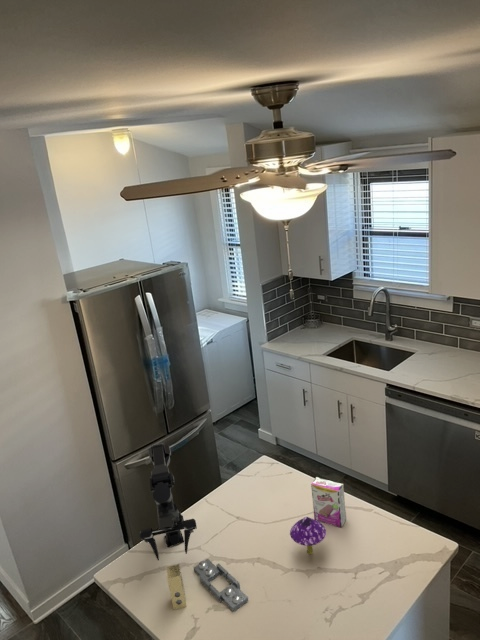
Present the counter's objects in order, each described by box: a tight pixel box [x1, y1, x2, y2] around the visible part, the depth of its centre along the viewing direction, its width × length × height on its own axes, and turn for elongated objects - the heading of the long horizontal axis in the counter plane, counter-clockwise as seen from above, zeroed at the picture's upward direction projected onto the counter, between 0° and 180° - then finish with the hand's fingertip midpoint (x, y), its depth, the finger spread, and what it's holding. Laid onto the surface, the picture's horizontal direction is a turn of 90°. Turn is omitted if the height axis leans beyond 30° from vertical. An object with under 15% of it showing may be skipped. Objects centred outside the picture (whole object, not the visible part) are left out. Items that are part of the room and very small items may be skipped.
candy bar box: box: [310, 476, 347, 528], centre depth 194 cm, size 11×5×16 cm, turn 58°
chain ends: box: [193, 558, 249, 612], centre depth 173 cm, size 23×8×2 cm, turn 37°
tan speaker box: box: [166, 564, 187, 610], centre depth 167 cm, size 5×4×12 cm
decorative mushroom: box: [289, 516, 327, 555], centre depth 179 cm, size 12×12×15 cm
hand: (172, 557), depth 171 cm, fingers open, 9 cm apart
